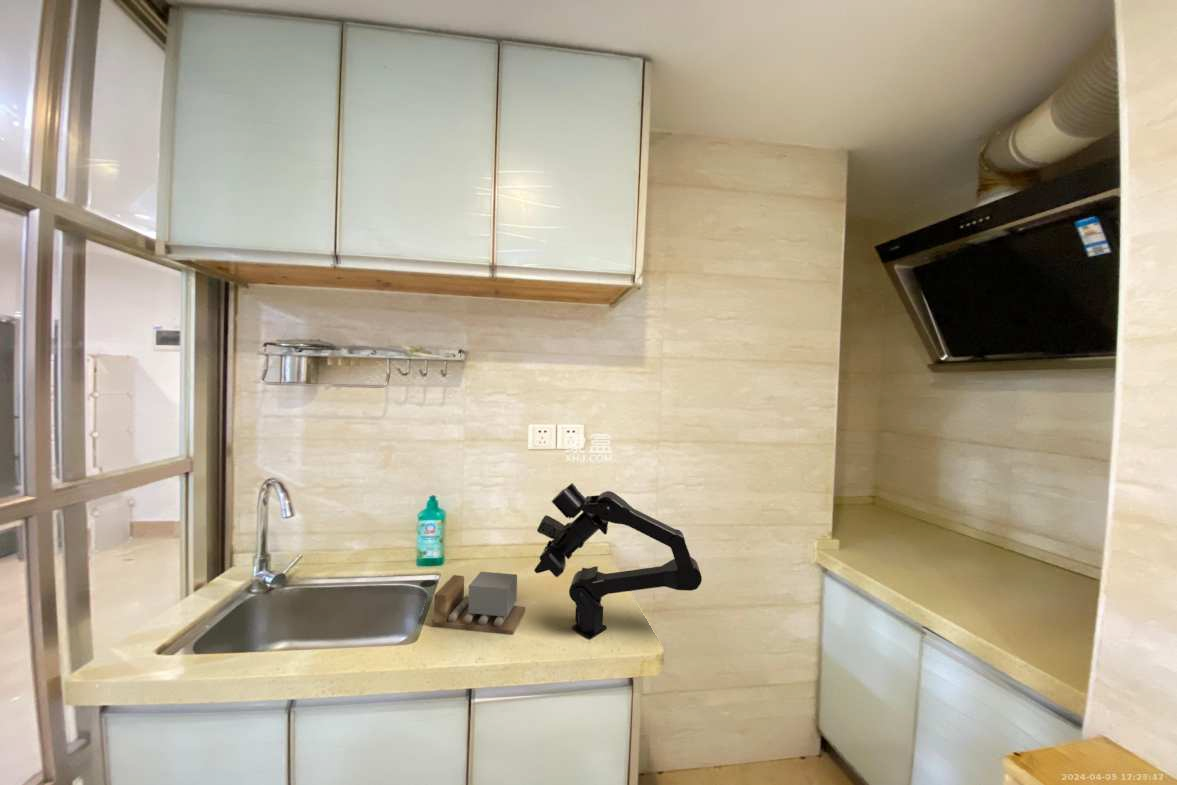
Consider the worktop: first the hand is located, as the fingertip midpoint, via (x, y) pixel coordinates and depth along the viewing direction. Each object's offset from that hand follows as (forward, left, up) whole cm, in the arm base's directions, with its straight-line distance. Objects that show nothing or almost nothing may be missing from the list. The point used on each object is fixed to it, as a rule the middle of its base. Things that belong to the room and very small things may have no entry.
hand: (535, 571), depth 112 cm
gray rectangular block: (+9, +6, -10) cm, 15 cm away
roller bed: (+12, +8, -14) cm, 20 cm away
